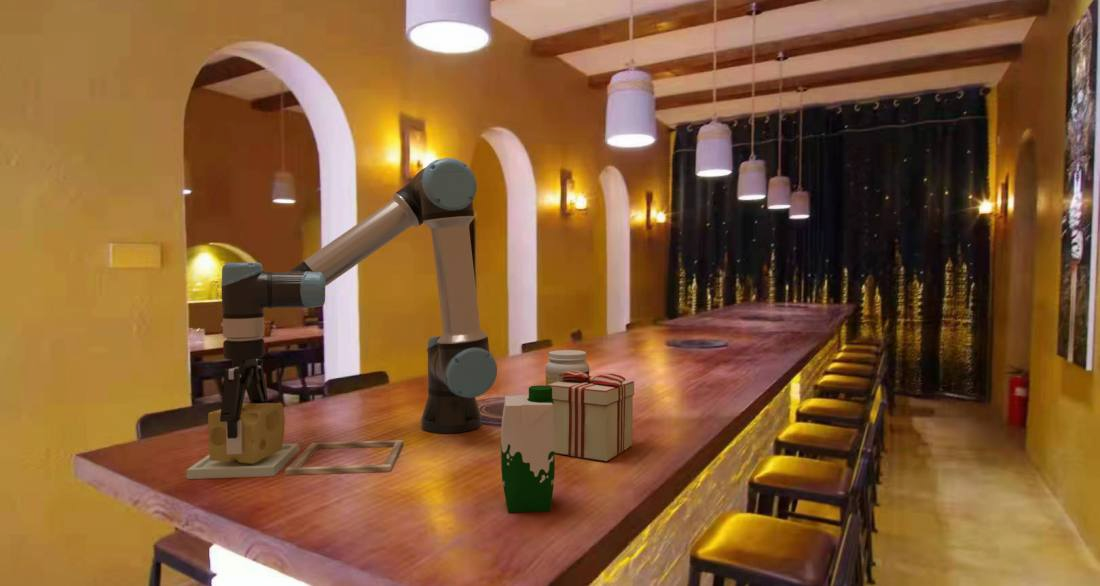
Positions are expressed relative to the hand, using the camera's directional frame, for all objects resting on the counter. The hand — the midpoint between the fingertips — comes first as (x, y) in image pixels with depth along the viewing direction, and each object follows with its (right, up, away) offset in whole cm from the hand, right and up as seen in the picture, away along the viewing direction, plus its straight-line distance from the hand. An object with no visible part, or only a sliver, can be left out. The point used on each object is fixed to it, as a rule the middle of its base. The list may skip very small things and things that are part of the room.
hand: (246, 445), depth 128 cm
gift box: (+71, -4, +12) cm, 72 cm away
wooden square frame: (+20, -4, +4) cm, 20 cm away
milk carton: (+58, -5, -21) cm, 62 cm away
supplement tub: (+67, -2, +45) cm, 81 cm away
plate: (0, -4, 0) cm, 4 cm away
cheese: (0, -2, 0) cm, 2 cm away
